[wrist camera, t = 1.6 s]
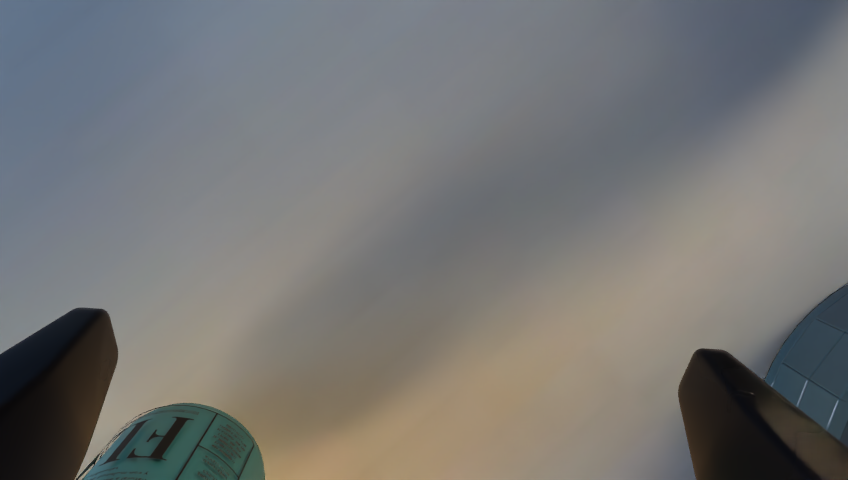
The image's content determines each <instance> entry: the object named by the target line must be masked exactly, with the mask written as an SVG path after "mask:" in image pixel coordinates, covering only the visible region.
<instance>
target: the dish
mask: <svg viewBox="0 0 848 480" xmlns="http://www.w3.org/2000/svg"><path fill="white" fill-rule="evenodd" d="M765 382H766V383H767V384H769V385H770V386H771V387H772V388H774V389H775V390H776V391H777V392H779V393H780V394H781V395H783V396H784V397H785V398H786V399H788V400H789V401H790V402H791V403H793V404H794V405H795V406H796V407H798V408H799V409H800V410H802V411H803V412H804V413H805V414H807V415H808V416H809V417H810V418H812V419H813V420H814V421H815V422H817V423H818V424H819V425H821V426H822V427H823V428H824V429H826V430H827V431H828V432H829V433H831V434H832V435H833V436H834V437H836V438H837V439H838V440H840V441H841V442H842V443H843V444H845V445H846V446H847V447H848V285H846V286H844V287H843V288H841V289H840V290H838V291H836V292H835V293H833V294H832V295H831V296H829V297H828V298H827V299H826V300H824V301H823V302H822V303H821V304H819V305H818V306H817V307H816V308H814V309H813V310H812V311H811V312H810V313H809V314H808V315H807V316H806V317H805V318H804V320H803V321H802V322H801V323H800V324H799V325H798V326H797V327H796V328H795V330H794V331H793V332H792V333H791V335H790V336H789V337H788V339H787V340H786V341H785V342H784V344H783V346H782V347H781V349H780V351H779V352H778V354H777V356H776V357H775V359H774V361H773V363H772V365H771V367H770V369H769V372H768V374H767V376H766V378H765Z"/></svg>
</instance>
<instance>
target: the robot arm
mask: <svg viewBox="0 0 848 480" xmlns="http://www.w3.org/2000/svg"><path fill="white" fill-rule="evenodd" d="M117 360H118V348H117V344H116V340H115V336H114V332H113V328H112V324H111V320H110V317H109V314H108V313H107V311H105V310H103V309H95V308H76V309H74V310H72V311H70V312H68V313H67V314H65V315H63V316H62V317H60V318H59V319H57V320H55V321H54V322H52V323H50V324H49V325H47V326H46V327H44V328H42V329H41V330H39V331H37V332H36V333H34V334H33V335H31V336H29V337H28V338H26V339H24V340H23V341H21V342H20V343H18V344H16V345H15V346H13V347H11V348H10V349H8V350H7V351H5V352H3V353H2V354H0V480H74V479H75V477H76V475H77V473H78V471H79V469H80V466H81V464H82V462H83V460H84V457H85V455H86V452H87V449H88V447H89V444H90V441H91V438H92V435H93V432H94V430H95V427H96V424H97V421H98V418H99V415H100V412H101V409H102V406H103V403H104V400H105V397H106V394H107V391H108V388H109V385H110V382H111V379H112V376H113V374H114V371H115V368H116V364H117ZM678 397H679V403H680V408H681V412H682V417H683V421H684V426H685V431H686V435H687V440H688V445H689V449H690V454H691V458H692V463H693V468H694V472H695V477H696V480H848V447H847V446H846V445H845V444H843V443H842V442H841V441H840V440H838V439H837V438H836V437H834V436H833V435H832V434H831V433H829V432H828V431H827V430H826V429H824V428H823V427H822V426H821V425H819V424H818V423H817V422H815V421H814V420H813V419H812V418H810V417H809V416H808V415H807V414H805V413H804V412H803V411H802V410H800V409H799V408H798V407H796V406H795V405H794V404H793V403H791V402H790V401H789V400H788V399H786V398H785V397H784V396H783V395H781V394H780V393H779V392H777V391H776V390H775V389H774V388H772V387H771V386H770V385H769V384H767V383H766V382H765V381H764V380H762V379H761V378H760V377H758V376H757V375H756V374H755V373H753V372H752V371H751V370H750V369H748V368H747V367H746V366H745V365H743V364H742V363H741V362H739V361H738V360H737V359H736V358H734V357H733V356H732V355H731V354H729V353H728V352H726V351H724V350H719V349H704V348H702V349H698V350H697V351H696V352H694V354H693V356H692V358H691V360H690V362H689V365H688V367H687V369H686V371H685V373H684V375H683V378H682V380H681V382H680V385H679V390H678Z"/></svg>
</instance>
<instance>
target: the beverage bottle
mask: <svg viewBox="0 0 848 480" xmlns="http://www.w3.org/2000/svg"><path fill="white" fill-rule="evenodd" d="M155 409H156V410H153V409H152V410H153V411H152V412H150V413H148V414H146V415H144V416H142V417H139V419H136V420H135V422H134V421H133V422H132V424H131V425H130V426H129V427H128V428H126V429H124V430H123V431H124V432H123V431H122V432H123V433H122V432H120V433H119V435H120V434H121V433H122V434H121V435H120V436H119V435H118V436H119V438H118V439H117V440H116V441H115V442H114V443H113V445H112V446H111V447H110V448H109V449H108V450H107V449H106V450H107V452H105V454H104V455H103V456H102V455H101V456H102V457H101V456H100V458H99V459H100V460H99V461H98V462H97V463H96V464H95V462H96V460H97V458H98V456H99V455H100V453H101V452H102V451H101V452H100V453H99V454H98V456H97V457H95V459H94V460H93V461H92V462H91V463H90V464H89V465H88V467H87V468H86V469H85V470H84V471H83V472H82V473H81V474H80V476H79V477H78V478H77V479H76V480H78V479H79V478H80V477H81V476H82V475H83V474H84V473H85V472H86V471H87V470H88V469H89V467H91V466H92V465H93V464H94V466H93V468H92V469H91V470H90V471H89V472H88V474H87V475H86V476H85V477H84V478H83V479H82V480H265V472H264V464H263V460H262V456H261V452H260V450H259V447H258V445H257V443H256V442H255V440H254V438H253V437H252V435H251V434H250V433H249V431H248V430H247V429H246V428H245V427H244V426H243V425H242V424H241V423H239V422H238V421H237V420H236V419H234V418H233V417H231V416H230V415H228V414H226V413H224V412H222V411H220V410H218V409H215V408H213V407H210V406H205V405H201V404H194V403H179V404H172V405H168V406H163V407H159V409H157V408H155ZM149 411H151V410H149ZM147 412H148V411H147ZM144 413H145V412H144ZM142 414H143V413H142ZM140 415H141V414H140ZM138 416H139V415H138ZM135 418H136V417H135ZM133 419H134V418H133ZM129 422H130V421H129ZM130 423H131V422H130ZM130 423H129V424H130ZM126 424H127V423H126ZM126 424H125V425H126ZM126 426H127V425H126ZM123 428H124V427H123ZM123 428H122V429H123ZM120 431H121V430H120ZM116 436H117V435H116ZM116 436H115V437H116ZM118 436H117V437H118ZM115 437H114V438H115ZM117 437H116V438H117ZM116 438H115V439H116ZM115 439H114V440H115ZM114 440H113V441H114ZM111 441H112V440H111ZM111 441H110V442H111ZM110 442H109V443H110ZM109 443H108V444H109ZM108 446H109V445H108ZM107 448H108V447H107ZM103 452H104V451H103ZM103 452H102V453H103Z"/></svg>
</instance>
